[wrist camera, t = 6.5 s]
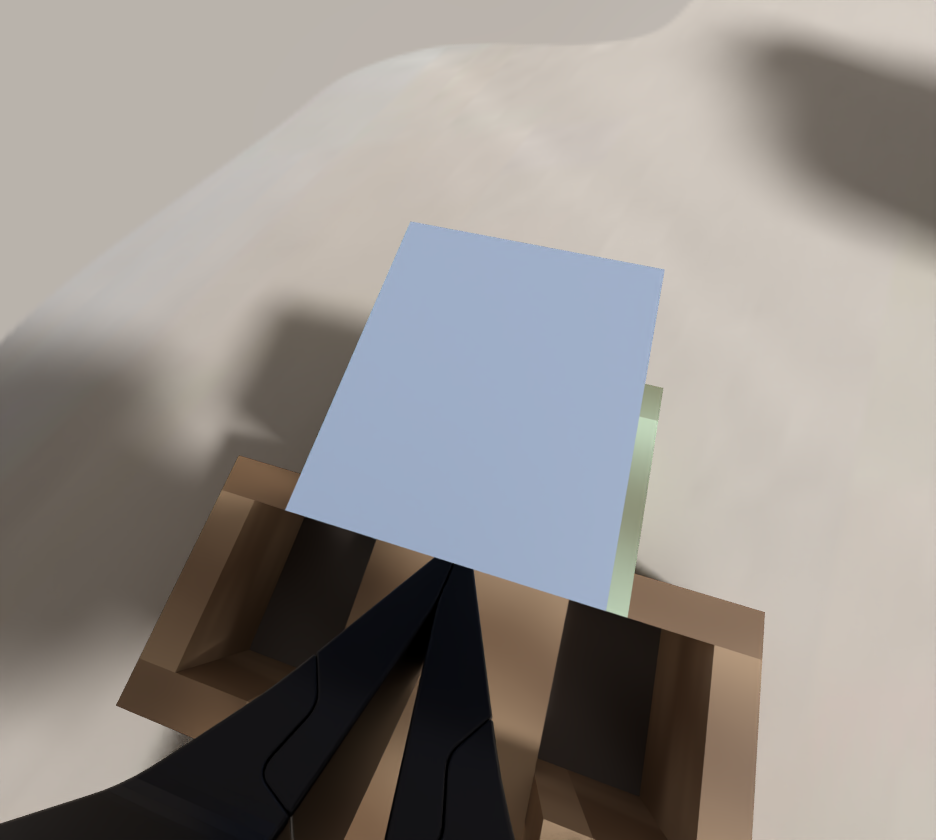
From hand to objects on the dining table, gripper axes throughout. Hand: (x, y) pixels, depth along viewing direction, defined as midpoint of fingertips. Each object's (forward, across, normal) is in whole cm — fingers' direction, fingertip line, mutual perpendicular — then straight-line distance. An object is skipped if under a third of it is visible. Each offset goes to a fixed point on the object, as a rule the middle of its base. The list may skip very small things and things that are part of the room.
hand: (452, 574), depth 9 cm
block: (+6, 0, +2) cm, 7 cm away
